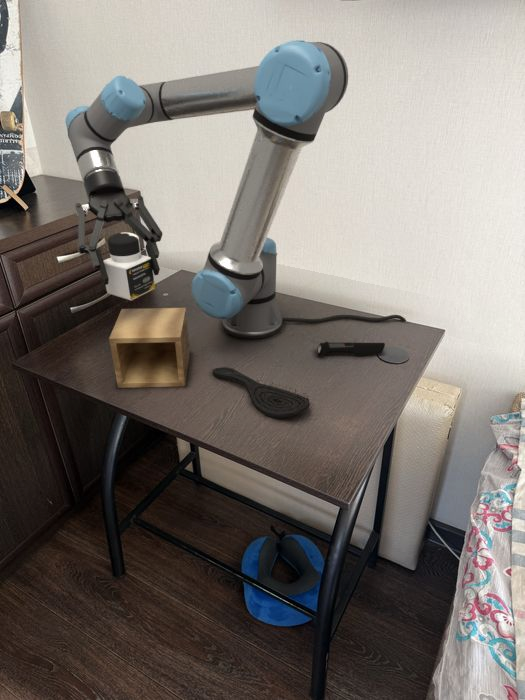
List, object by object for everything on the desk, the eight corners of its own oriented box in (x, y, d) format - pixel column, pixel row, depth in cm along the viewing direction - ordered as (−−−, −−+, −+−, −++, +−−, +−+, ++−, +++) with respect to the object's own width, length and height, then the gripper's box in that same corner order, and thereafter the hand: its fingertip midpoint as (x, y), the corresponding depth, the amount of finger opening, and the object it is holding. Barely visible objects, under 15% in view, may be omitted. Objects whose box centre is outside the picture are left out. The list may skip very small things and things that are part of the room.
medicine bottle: (131, 301, 100) (122, 243, 94) (106, 293, 103) (96, 237, 97) (155, 288, 105) (148, 233, 99) (131, 281, 109) (123, 227, 102)
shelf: (189, 353, 116) (185, 307, 110) (185, 386, 105) (180, 336, 99) (129, 355, 116) (121, 308, 109) (117, 388, 104) (108, 338, 98)
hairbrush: (226, 353, 111) (319, 392, 96) (228, 367, 113) (318, 408, 98) (199, 369, 106) (292, 413, 91) (201, 383, 107) (292, 429, 93)
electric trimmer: (384, 358, 115) (386, 347, 113) (317, 358, 115) (318, 346, 113) (381, 350, 118) (383, 338, 117) (316, 350, 118) (317, 338, 116)
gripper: (151, 184, 111) (181, 274, 107) (46, 196, 103) (75, 295, 99) (155, 163, 105) (188, 259, 101) (43, 174, 96) (74, 279, 92)
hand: (132, 276), depth 100 cm, fingers closed on medicine bottle, 9 cm apart
